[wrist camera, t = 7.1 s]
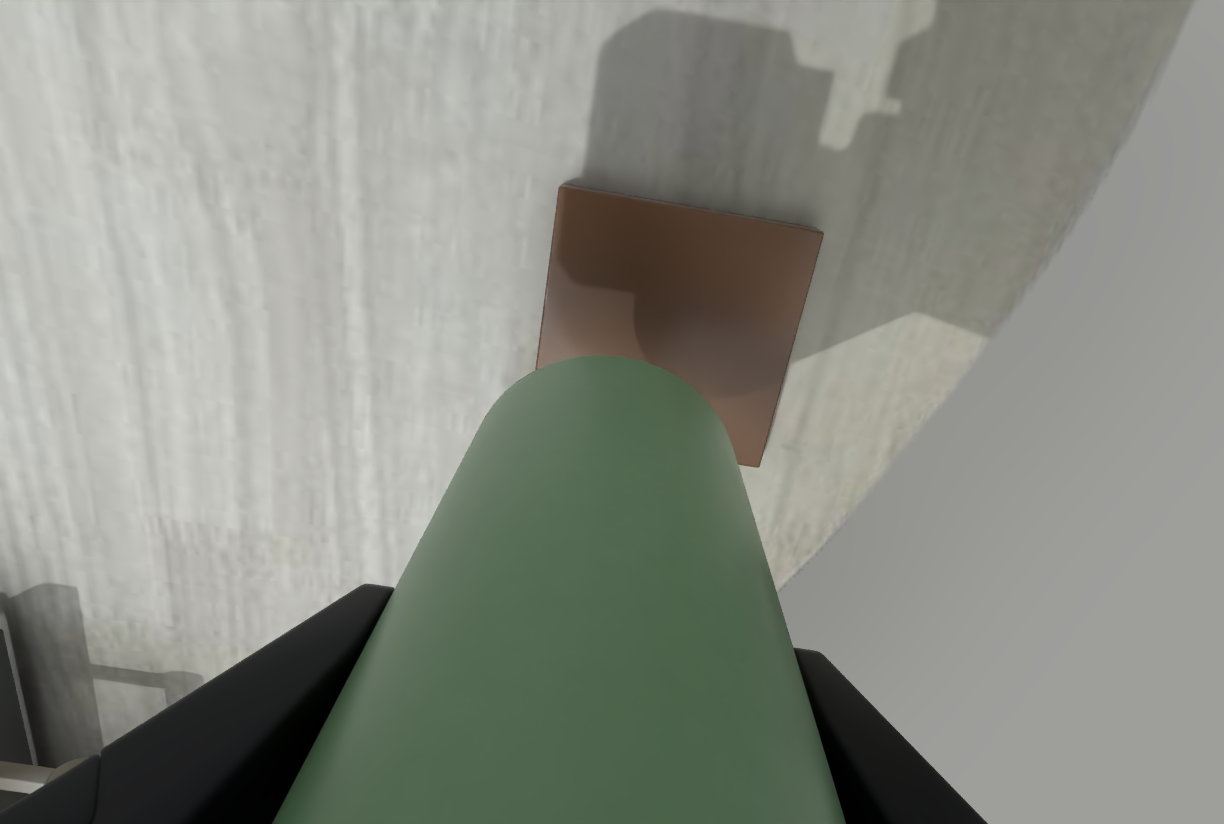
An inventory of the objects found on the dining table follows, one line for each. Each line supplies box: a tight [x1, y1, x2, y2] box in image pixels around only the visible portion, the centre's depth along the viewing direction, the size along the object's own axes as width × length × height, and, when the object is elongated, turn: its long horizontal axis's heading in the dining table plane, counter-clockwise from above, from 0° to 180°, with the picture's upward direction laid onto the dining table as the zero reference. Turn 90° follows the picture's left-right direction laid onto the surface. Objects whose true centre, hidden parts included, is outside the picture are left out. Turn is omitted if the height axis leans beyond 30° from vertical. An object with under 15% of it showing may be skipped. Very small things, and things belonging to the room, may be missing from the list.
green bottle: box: [272, 355, 846, 824], centre depth 8 cm, size 5×5×11 cm
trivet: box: [536, 184, 824, 468], centre depth 20 cm, size 7×7×1 cm
